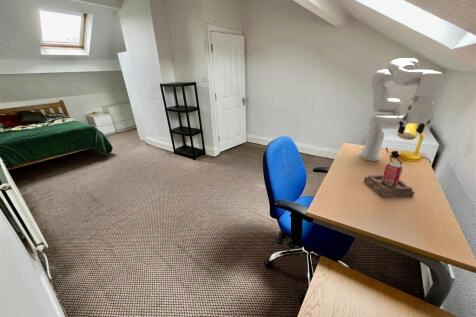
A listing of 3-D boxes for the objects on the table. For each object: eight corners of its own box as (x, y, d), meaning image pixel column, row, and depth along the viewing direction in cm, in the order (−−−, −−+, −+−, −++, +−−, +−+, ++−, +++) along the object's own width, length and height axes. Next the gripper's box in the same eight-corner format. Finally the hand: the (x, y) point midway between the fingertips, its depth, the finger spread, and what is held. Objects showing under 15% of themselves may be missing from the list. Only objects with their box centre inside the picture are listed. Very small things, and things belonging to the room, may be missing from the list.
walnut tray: (363, 181, 118) (365, 174, 116) (390, 180, 118) (392, 173, 116) (382, 197, 103) (385, 190, 101) (412, 196, 104) (415, 189, 102)
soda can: (391, 180, 112) (398, 161, 107) (399, 187, 106) (407, 167, 101) (378, 180, 113) (384, 161, 108) (385, 187, 107) (392, 167, 102)
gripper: (410, 101, 93) (398, 135, 101) (447, 100, 93) (432, 135, 101) (399, 98, 100) (388, 130, 108) (433, 97, 100) (420, 130, 108)
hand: (409, 132), depth 104 cm, fingers open, 9 cm apart
